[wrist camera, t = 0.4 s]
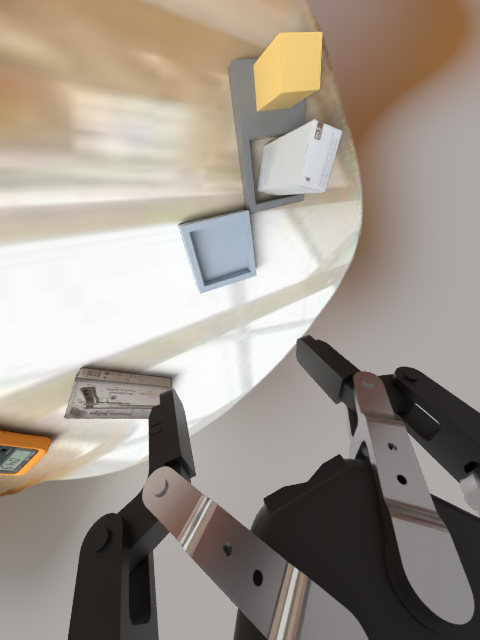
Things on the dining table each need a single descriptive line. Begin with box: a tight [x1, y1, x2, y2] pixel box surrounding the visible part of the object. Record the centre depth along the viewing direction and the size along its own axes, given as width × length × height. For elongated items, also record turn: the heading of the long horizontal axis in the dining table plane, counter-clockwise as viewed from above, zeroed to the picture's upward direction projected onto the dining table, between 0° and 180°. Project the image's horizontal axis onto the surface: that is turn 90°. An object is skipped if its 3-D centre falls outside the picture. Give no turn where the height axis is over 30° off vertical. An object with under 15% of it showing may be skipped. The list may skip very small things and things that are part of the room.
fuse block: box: [228, 32, 322, 213], centre depth 27 cm, size 16×10×8 cm, turn 9°
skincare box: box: [257, 119, 342, 195], centre depth 27 cm, size 6×4×12 cm
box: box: [64, 368, 172, 419], centre depth 42 cm, size 11×17×3 cm, turn 60°
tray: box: [178, 210, 257, 293], centre depth 34 cm, size 11×11×2 cm
